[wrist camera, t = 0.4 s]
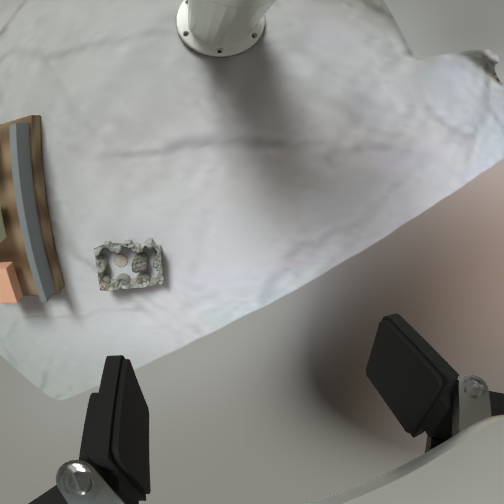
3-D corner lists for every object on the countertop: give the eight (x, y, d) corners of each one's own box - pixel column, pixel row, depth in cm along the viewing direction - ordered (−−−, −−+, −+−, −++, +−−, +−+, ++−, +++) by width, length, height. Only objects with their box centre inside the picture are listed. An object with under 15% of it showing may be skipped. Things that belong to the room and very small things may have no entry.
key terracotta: (-13, 263, 33) (-19, 270, 31) (12, 261, 35) (5, 268, 32) (-2, 295, 36) (-8, 303, 34) (23, 295, 37) (17, 302, 35)
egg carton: (102, 279, 45) (96, 292, 41) (97, 236, 42) (90, 246, 38) (164, 279, 47) (163, 293, 43) (163, 236, 44) (161, 246, 40)
